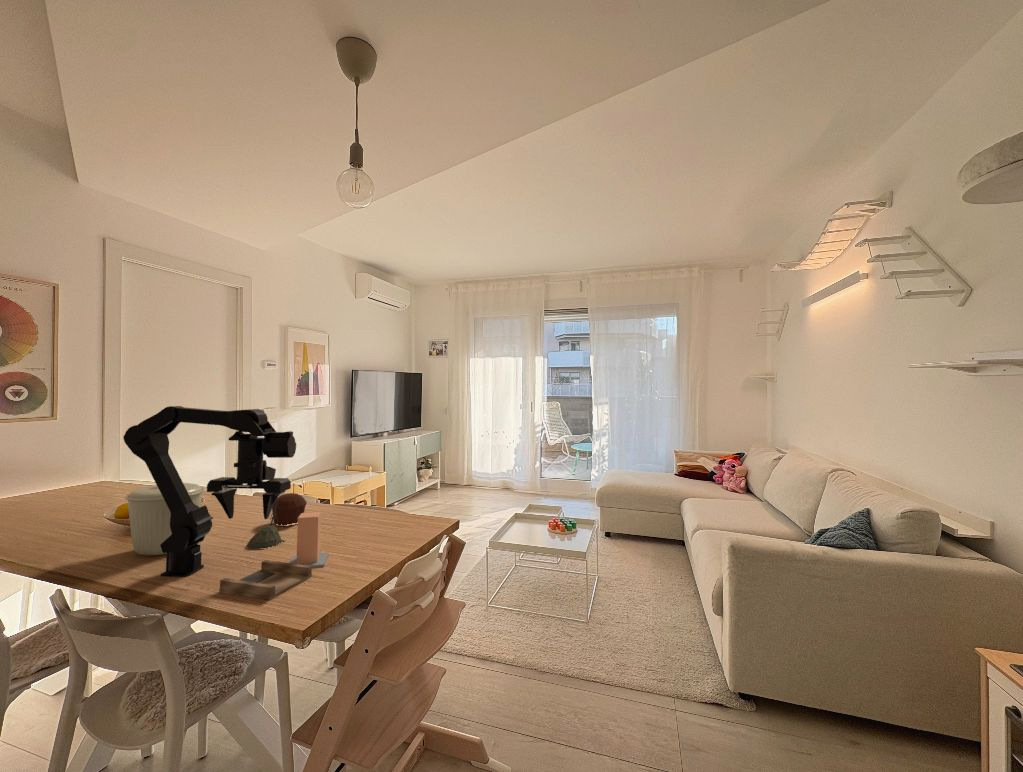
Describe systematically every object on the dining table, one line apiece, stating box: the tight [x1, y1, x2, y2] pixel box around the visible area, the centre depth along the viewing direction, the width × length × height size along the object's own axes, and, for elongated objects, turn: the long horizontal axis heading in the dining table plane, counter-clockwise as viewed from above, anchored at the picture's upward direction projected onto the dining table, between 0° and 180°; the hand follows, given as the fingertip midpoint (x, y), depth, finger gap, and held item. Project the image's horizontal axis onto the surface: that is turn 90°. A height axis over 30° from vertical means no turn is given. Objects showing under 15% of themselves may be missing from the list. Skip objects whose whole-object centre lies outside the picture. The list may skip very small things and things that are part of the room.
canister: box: [124, 482, 206, 557], centre depth 124 cm, size 18×18×21 cm
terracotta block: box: [296, 511, 322, 564], centre depth 116 cm, size 5×5×12 cm
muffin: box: [271, 492, 307, 525], centre depth 152 cm, size 12×11×10 cm
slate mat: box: [288, 552, 330, 569], centre depth 116 cm, size 9×9×1 cm
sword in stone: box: [245, 502, 285, 550], centre depth 130 cm, size 10×8×12 cm
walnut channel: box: [218, 559, 313, 601], centre depth 102 cm, size 14×13×3 cm
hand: (248, 518), depth 111 cm, fingers open, 9 cm apart
